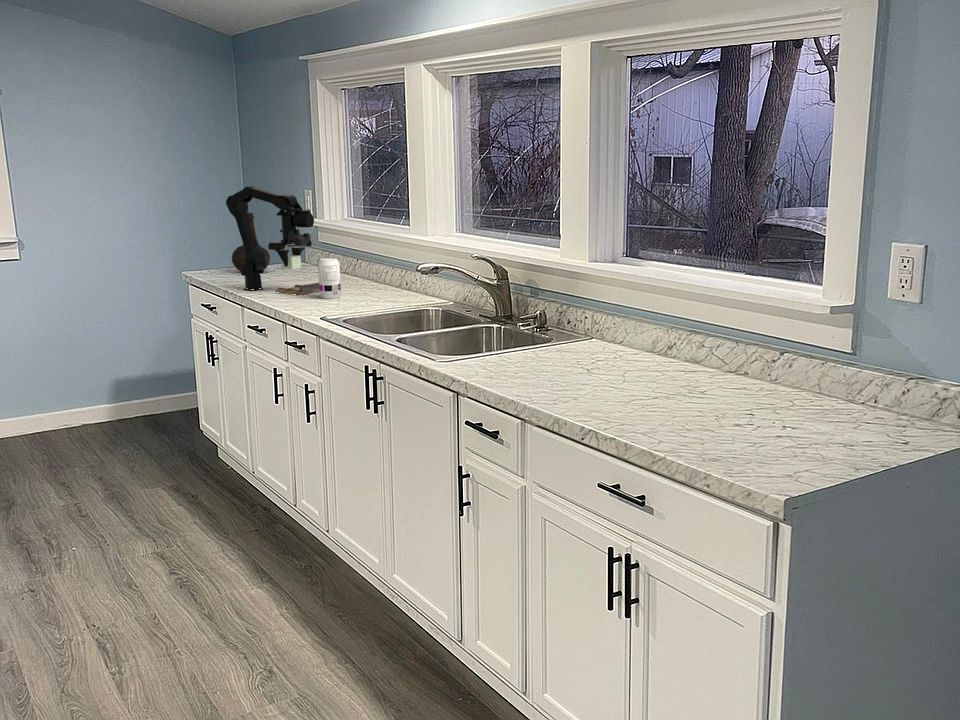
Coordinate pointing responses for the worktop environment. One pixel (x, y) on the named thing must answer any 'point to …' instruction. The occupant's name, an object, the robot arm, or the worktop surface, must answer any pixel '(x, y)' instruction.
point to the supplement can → (329, 278)
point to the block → (292, 262)
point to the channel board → (300, 289)
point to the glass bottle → (240, 251)
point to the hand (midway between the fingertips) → (291, 265)
